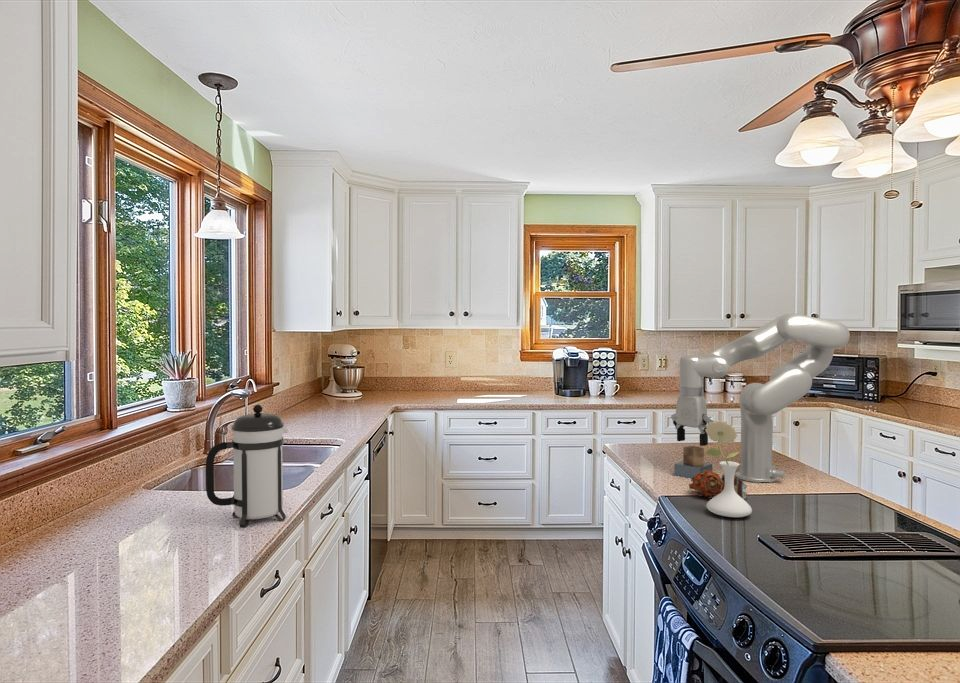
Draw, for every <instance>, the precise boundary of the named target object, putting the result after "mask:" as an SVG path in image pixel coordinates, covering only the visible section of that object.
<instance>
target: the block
mask: <svg viewBox="0 0 960 683" xmlns="http://www.w3.org/2000/svg"><path fill="white" fill-rule="evenodd" d="M682 461H683V463H686V464H689V465H693V466H696V465H704V462H705V448H704V447H702V446H697V445H687V446H683V458H682Z"/></svg>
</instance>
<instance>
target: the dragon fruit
mask: <svg viewBox="0 0 960 683" xmlns="http://www.w3.org/2000/svg"><path fill="white" fill-rule="evenodd" d="M721 478H722V477H721V476H720V475H719V474H718V473H717V472H715V471H713V470H712V471H708V470H704V472H703V473H698V474H696V475H695V476H694V477H693V478H692V479H690V482H692V483H688V487H689V488H688V489H690V490H694V491H696V494H697V495H698V496H699V497H700V496H704V497H705V498H707V497H709V498H708V499H710V498H713V497H715V496H717V495H718V494H720V493H721V492H722V491H723V490H724V486H725V484H724V482H723V481H722V479H721Z"/></svg>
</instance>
